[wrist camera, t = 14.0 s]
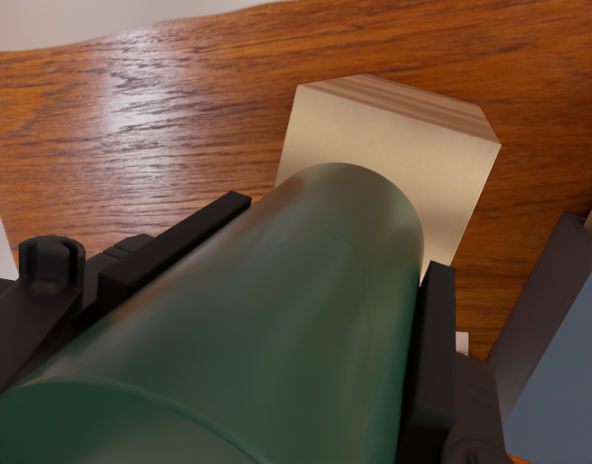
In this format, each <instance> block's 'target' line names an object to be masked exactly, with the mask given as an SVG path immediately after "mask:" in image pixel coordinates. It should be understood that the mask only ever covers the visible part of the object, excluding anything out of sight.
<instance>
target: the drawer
mask: <svg viewBox="0 0 592 464" xmlns="http://www.w3.org/2000/svg"><path fill="white" fill-rule="evenodd" d="M583 227H584V228H585V229H586V230H587V232H588V233H589V234H590V236H591V237H592V210H591V212H590V214H589V216H588V217H587V219H586V221H585V223H584V225H583Z"/></svg>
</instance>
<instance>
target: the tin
mask: <svg viewBox="0 0 592 464" xmlns="http://www.w3.org/2000/svg"><path fill="white" fill-rule="evenodd" d="M423 259H424V235H423V230H422V226H421V223H420V220H419V217H418V215H417V213H416V211H415V209H414V207H413V206H412V204H411V202H410V201H409V199H408V198H407V197H406V196H405V195H404V193H403V192H402V191H401V190H400V189H399V188H398V187H397V186H396V185H395V184H394V183H392V182H391V181H389V180H388V179H387V178H385V177H384V176H382V175H380V174H378V173H377V172H375V171H373V170H370V169H368V168H365V167H362V166H358V165H354V164H349V163H340V162H337V163H323V164H317V165H314V166H310V167H307V168H305V169H303V170H301V171H298V172H297V173H295V174H294V175H292V176H290V177H289V178H288V179H286V180H285V181H284V182H282V183H281V184H280V185H278V186H277V187H276V188H274V189H273V190H272V191H270V192H269V193H268V194H266V195H265V196H264V197H262V198H261V199H260V200H258V201H257V202H256V203H254V204H253V205H252V206H250V207H249V208H248V209H246V210H245V211H244V212H242V213H241V214H240V215H238V216H237V217H236V218H234V219H233V220H232V221H230V222H229V223H228V224H226V225H225V226H224V227H222V228H221V229H220V230H218V231H217V232H216V233H214V234H213V235H212V236H210V237H209V238H208V239H206V240H205V241H204V242H203V243H201V244H200V245H199V246H197V247H196V248H195V249H193V250H192V251H191V252H189V253H188V254H187V255H185V256H184V257H183V258H181V259H180V260H179V261H177V262H176V263H175V264H173V265H172V266H171V267H169V268H168V269H167V270H165V271H164V272H163V273H161V274H160V275H159V276H157V277H156V278H155V279H153V280H152V281H151V282H149V283H148V284H147V285H145V286H144V287H143V288H141V289H140V290H139V291H137V292H136V293H135V294H133V295H132V296H131V297H129V298H128V299H127V300H125V301H124V302H123V303H121V304H120V305H119V306H117V307H116V308H115V309H113V310H112V311H111V312H110V313H108V314H107V315H106V316H104V317H103V318H102V319H100V320H99V321H98V322H96V323H95V324H94V325H92V326H91V327H90V328H88V329H87V330H86V331H84V332H83V333H82V334H80V335H79V336H78V337H76V338H75V339H74V340H72V341H71V342H70V343H68V344H67V345H66V346H64V347H63V348H62V349H60V350H59V351H58V352H56V353H55V354H54V355H52V356H51V357H50V358H48V359H47V360H46V361H44V362H43V363H42V364H40V365H39V366H38V367H36V368H35V369H34V370H32V371H31V372H30V373H28V374H27V375H26V376H24V377H23V378H22V379H20V380H19V381H18V382H16V383H15V384H14V385H13V386H11V387H10V388H9V389H7V390H6V391H5V392H3V393H2V394H1V395H0V464H395V458H396V451H397V444H398V437H399V430H400V423H401V416H402V409H403V401H404V394H405V387H406V380H407V373H408V366H409V359H410V351H411V344H412V337H413V330H414V323H415V316H416V309H417V302H418V294H419V287H420V280H421V273H422V266H423Z"/></svg>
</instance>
